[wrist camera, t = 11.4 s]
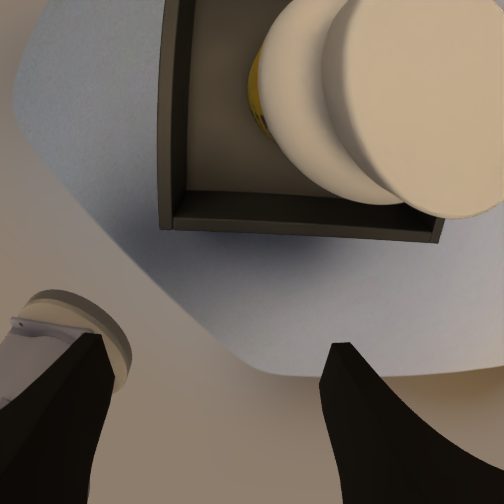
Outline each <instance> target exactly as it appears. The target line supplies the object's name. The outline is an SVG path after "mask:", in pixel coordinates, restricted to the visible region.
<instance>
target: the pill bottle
mask: <svg viewBox="0 0 504 504" xmlns="http://www.w3.org/2000/svg"><path fill="white" fill-rule="evenodd" d="M247 97H248V102H249V106H250V109H251V112H252V115H253V117H254V119H255V121H256V122H257V124H258V126H259V127H260V128H261V130H262V131H263V132H264V134H265V135H266V136H267V137H268V138H269V139H270V140H271V141H272V142H273V143H274V144H275V145H276V146H277V147H278V148H279V149H280V150H281V151H282V152H283V154H284V155H285V156H286V157H287V159H288V160H289V161H290V162H291V163H292V164H294V165H295V166H296V167H297V168H298V169H299V170H300V171H301V172H302V173H303V174H304V175H305V176H307V177H308V178H309V179H310V180H312V181H313V182H314V183H316V184H318V185H319V186H321V187H322V188H324V189H326V190H328V191H330V192H331V193H334V194H336V195H338V196H340V197H343V198H346V199H349V200H352V201H356V202H360V203H366V204H375V205H389V204H398V203H403V202H405V203H407V204H408V205H410V206H411V207H413V208H415V209H417V210H419V211H421V212H424V213H426V214H429V215H432V216H436V217H440V218H447V219H462V218H469V217H473V216H476V215H479V214H482V213H484V212H487V211H488V210H490V209H492V208H493V207H495V206H496V205H498V204H499V203H500V202H501V201H503V200H504V12H503V11H502V10H501V8H500V7H499V6H498V5H497V4H496V3H495V2H494V1H493V0H293V1H292V2H290V3H289V4H288V5H287V6H286V8H285V9H284V10H283V11H282V12H281V13H280V14H279V16H278V17H277V18H276V20H275V21H274V23H273V24H272V26H271V28H270V30H269V32H268V34H267V35H266V37H265V39H264V42H263V44H262V46H261V48H260V50H259V52H258V54H257V56H256V58H255V60H254V62H253V64H252V66H251V69H250V72H249V76H248V81H247Z"/></svg>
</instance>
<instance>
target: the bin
mask: <svg viewBox="0 0 504 504" xmlns="http://www.w3.org/2000/svg"><path fill="white" fill-rule="evenodd" d="M292 1H293V0H165V5H164V14H163V24H162V35H161V47H160V61H159V79H158V103H157V188H158V214H159V229H160V230H173V229H174V230H183V231H211V232H237V233H260V234H282V235H303V236H322V237H340V238H358V239H375V240H391V241H406V242H421V243H436V244H438V242H439V239H440V235H441V232H442V228H443V225H444V221H445V218H440V217H436V216H432V215H429V214H426V213H424V212H421V211H419V210H417V209H415V208H413V207H411V206H410V205H408V204H407V203H405V202H403V203H398V204H389V205H375V204H366V203H360V202H356V201H352V200H349V199H346V198H343V197H340V196H338V195H336V194H334V193H331V192H330V191H328V190H326V189H324V188H322V187H321V186H319V185H318V184H316V183H314V182H313V181H312V180H310V179H309V178H308V177H307V176H305V175H304V174H303V173H302V172H301V171H300V170H299V169H298V168H297V167H296V166H295V165H294V164H292V163H291V162H290V161H289V160H288V159H287V157H286V156H285V155H284V154H283V152H282V151H281V150H280V149H279V148H278V147H277V146H276V145H275V144H274V143H273V142H272V141H271V140H270V139H269V138H268V137H267V136H266V135H265V134H264V132H263V131H262V130H261V128H260V127H259V126H258V124H257V122H256V121H255V119H254V117H253V115H252V112H251V109H250V106H249V102H248V97H247V81H248V76H249V72H250V69H251V66H252V64H253V62H254V60H255V58H256V56H257V54H258V52H259V50H260V48H261V46H262V44H263V42H264V39H265V37H266V35H267V34H268V32H269V30H270V28H271V26H272V24H273V23H274V21H275V20H276V18H277V17H278V16H279V14H280V13H281V12H282V11H283V10H284V9H285V8H286V6H287V5H288V4H289V3H290V2H292Z"/></svg>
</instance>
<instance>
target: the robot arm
mask: <svg viewBox="0 0 504 504" xmlns="http://www.w3.org/2000/svg"><path fill="white" fill-rule="evenodd" d="M10 323H11V325H12V328H11V330H10V331H9V333H8V334H7V336H6V337H5V338H4V340H3V341H2V343H1V344H0V504H87V500H88V497H89V490H90V473H91V467H92V462H93V458H94V454H95V451H96V447H97V444H98V441H99V437H100V434H101V431H102V428H103V424H104V421H105V418H106V415H107V411H108V408H109V405H110V401H111V396H112V391H113V385H114V380H115V375H114V372H113V369H112V366H111V364H110V361H109V358H108V354H107V351H106V348H105V345H104V342H103V339H102V335H101V334H95V333H94V331H93V330H91V329H88V328H80V327H73V326H66V325H60V324H53V323H47V322H41V321H35V320H29V319H24V318H19V317H11V319H10ZM319 389H320V397H321V404H322V411H323V415H324V419H325V423H326V426H327V430H328V433H329V437H330V441H331V445H332V448H333V452H334V456H335V459H336V463H337V467H338V472H339V476H340V483H341V491H342V499H343V504H504V470H501V469H499V468H497V467H494V466H492V465H490V464H488V463H486V462H484V461H482V460H480V459H478V458H476V457H474V456H473V455H471V454H469V453H468V452H466V451H464V450H462V449H461V448H459V447H458V446H457V445H455V444H454V443H452V442H450V441H449V440H448V439H446V438H445V437H443V436H442V435H441V434H439V433H438V432H437V431H436V430H434V429H433V428H432V427H431V426H429V425H428V424H427V423H426V422H425V421H423V420H422V419H421V418H420V417H419V416H418V415H417V414H415V413H414V412H413V411H412V410H411V409H410V408H409V407H408V406H407V405H406V404H405V403H404V402H403V401H402V400H401V399H400V398H399V397H398V396H397V395H396V394H395V393H394V392H393V391H392V390H391V389H390V388H389V386H388V385H387V384H386V383H385V382H384V381H383V380H382V379H381V378H380V376H379V375H378V374H377V373H376V372H375V371H374V370H373V368H372V367H371V366H370V365H369V364H368V363H367V361H366V360H365V359H364V358H363V357H362V356H361V354H360V353H359V352H358V351H357V350H356V349H355V348H354V346H353V345H352V344H351V343H350V342H346V343H332V344H331V348H330V351H329V354H328V358H327V361H326V364H325V367H324V370H323V373H322V376H321V379H320V382H319Z"/></svg>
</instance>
